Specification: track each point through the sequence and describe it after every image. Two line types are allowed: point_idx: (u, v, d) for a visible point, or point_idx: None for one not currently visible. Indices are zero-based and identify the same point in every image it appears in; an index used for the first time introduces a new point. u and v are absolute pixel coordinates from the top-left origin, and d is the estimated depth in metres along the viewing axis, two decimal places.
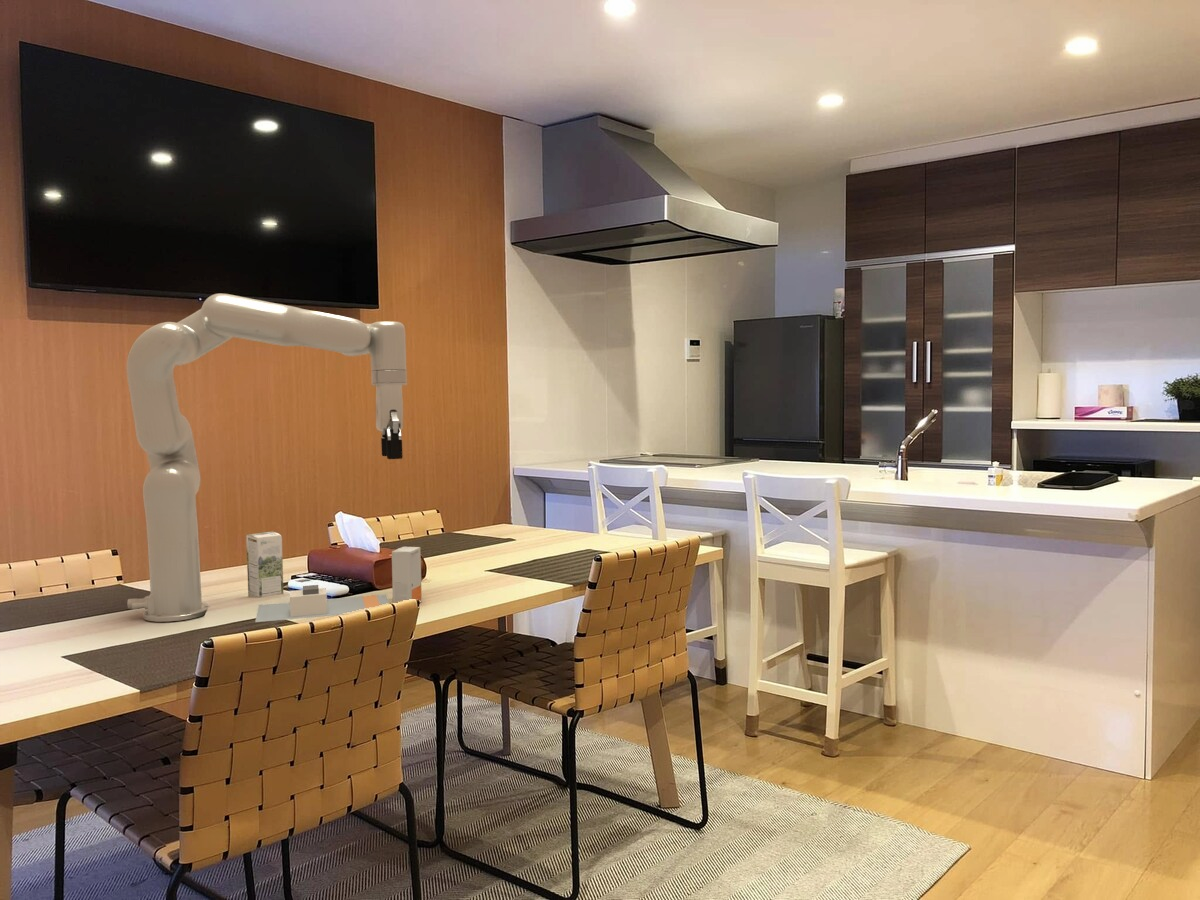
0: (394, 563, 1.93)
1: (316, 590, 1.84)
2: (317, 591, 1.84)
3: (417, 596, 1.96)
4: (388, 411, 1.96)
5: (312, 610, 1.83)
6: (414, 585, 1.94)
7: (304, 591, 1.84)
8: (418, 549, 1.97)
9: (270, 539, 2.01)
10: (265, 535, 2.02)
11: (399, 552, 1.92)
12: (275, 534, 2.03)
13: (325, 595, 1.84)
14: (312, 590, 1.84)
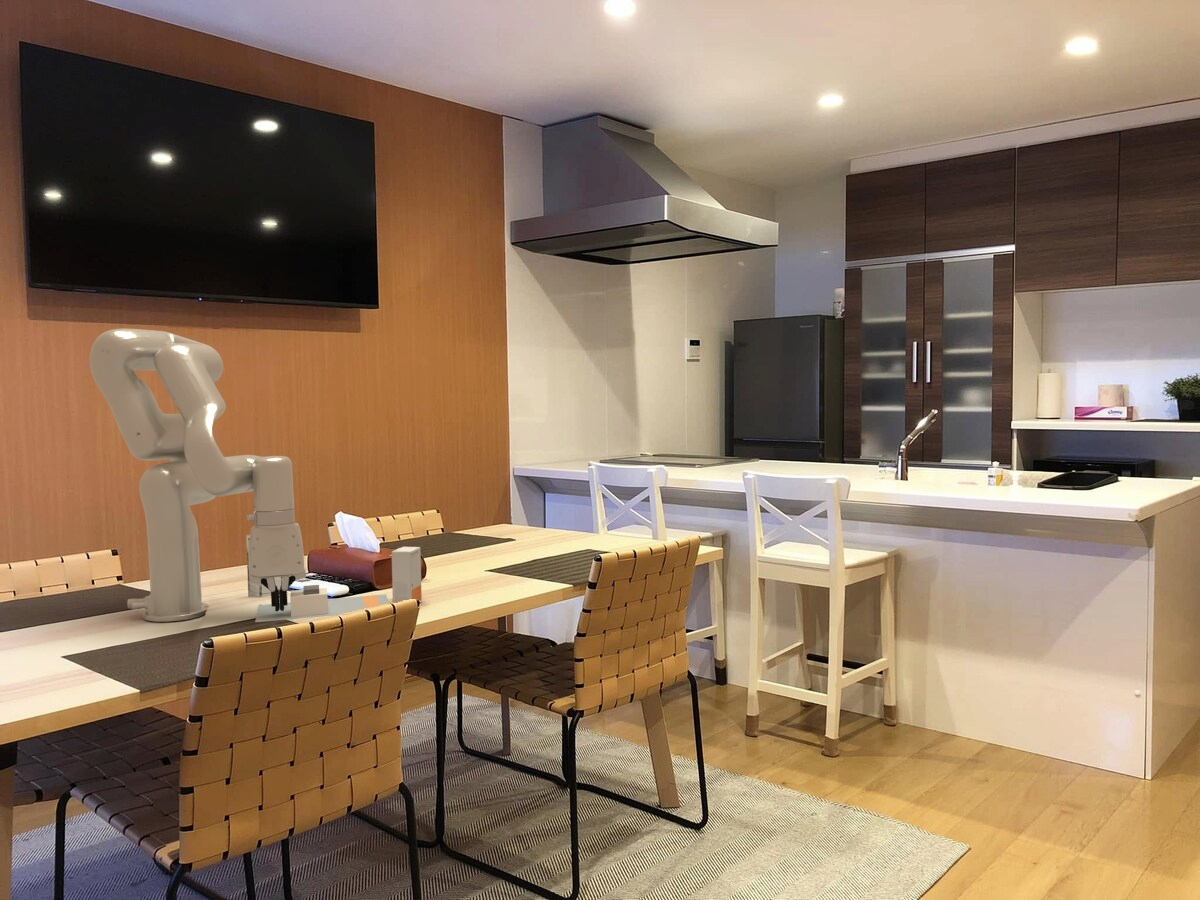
0: (394, 563, 1.93)
1: (317, 590, 1.84)
2: (318, 591, 1.85)
3: (417, 596, 1.96)
4: (303, 551, 1.84)
5: (313, 610, 1.83)
6: (414, 585, 1.94)
7: (305, 591, 1.84)
8: (418, 549, 1.97)
9: None
10: None
11: (399, 552, 1.92)
12: None
13: (326, 595, 1.84)
14: (313, 590, 1.84)
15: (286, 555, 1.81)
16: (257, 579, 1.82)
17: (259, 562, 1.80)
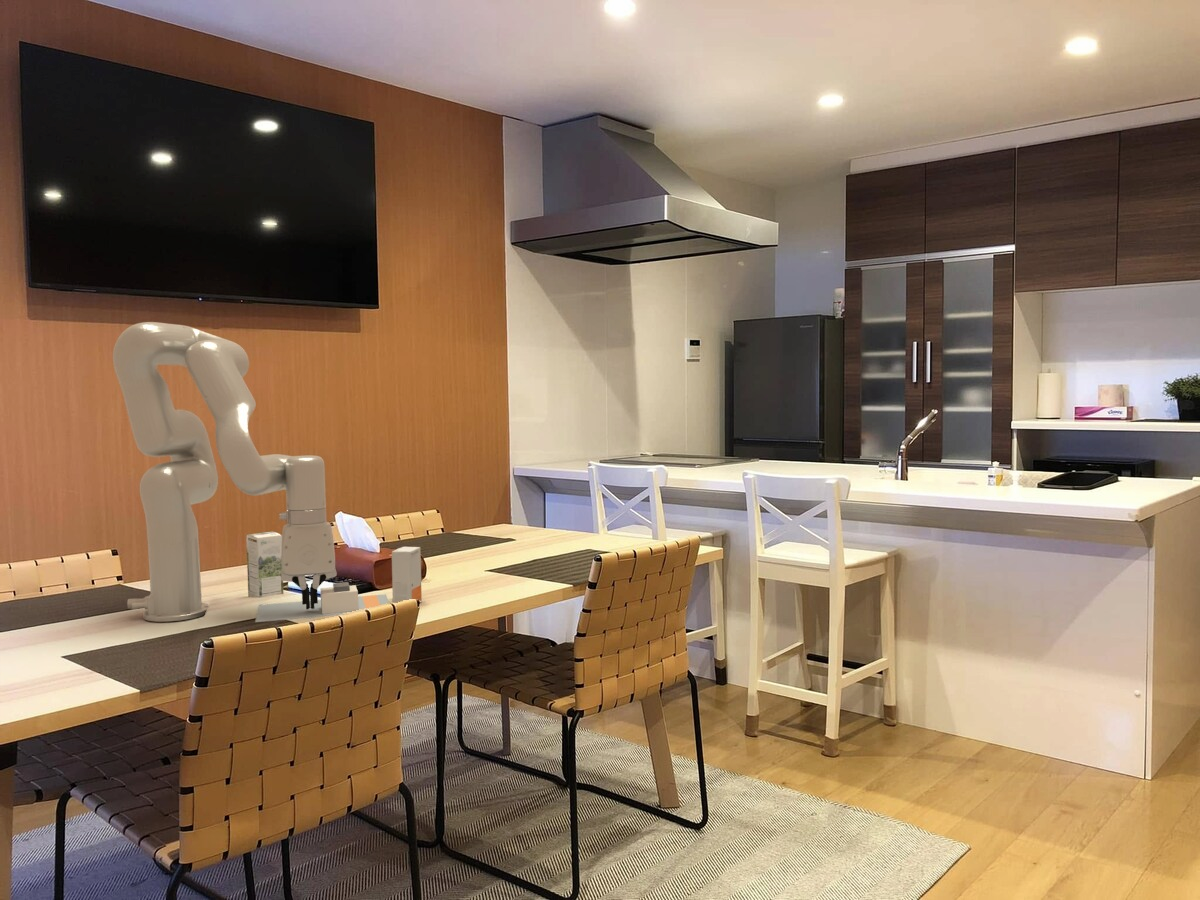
0: (394, 563, 1.93)
1: (347, 587, 1.87)
2: (348, 588, 1.87)
3: (417, 596, 1.96)
4: None
5: (344, 607, 1.86)
6: (414, 585, 1.94)
7: (335, 588, 1.86)
8: (418, 549, 1.97)
9: (270, 538, 2.02)
10: (265, 535, 2.02)
11: (399, 552, 1.92)
12: (275, 534, 2.03)
13: (356, 592, 1.86)
14: (343, 587, 1.86)
15: (318, 554, 1.83)
16: (288, 578, 1.84)
17: (291, 560, 1.82)
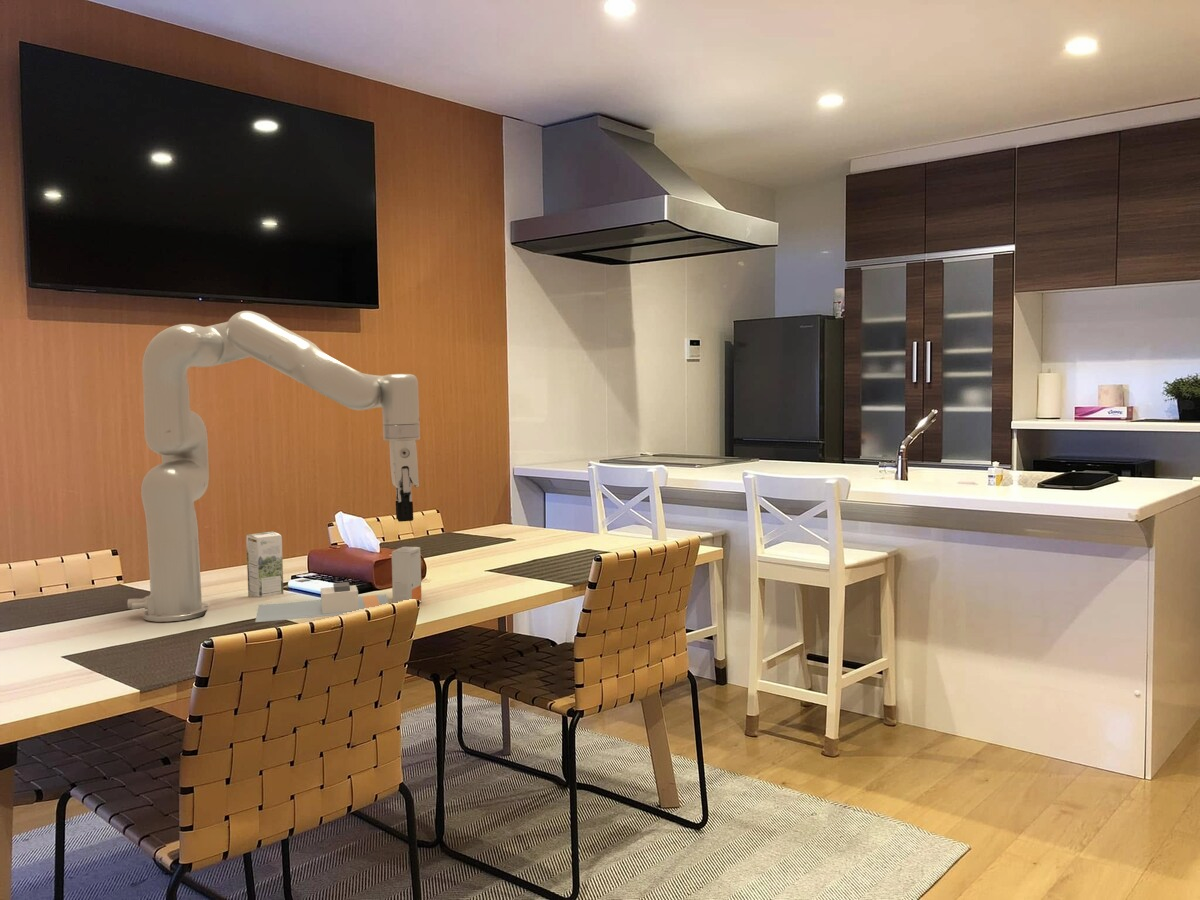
0: (394, 563, 1.93)
1: (347, 587, 1.87)
2: (348, 588, 1.87)
3: (417, 596, 1.96)
4: None
5: (344, 607, 1.86)
6: (414, 585, 1.94)
7: (336, 588, 1.86)
8: (418, 549, 1.97)
9: (270, 538, 2.01)
10: (265, 535, 2.02)
11: (399, 552, 1.92)
12: (275, 534, 2.03)
13: (356, 592, 1.86)
14: (343, 587, 1.86)
15: None
16: None
17: None
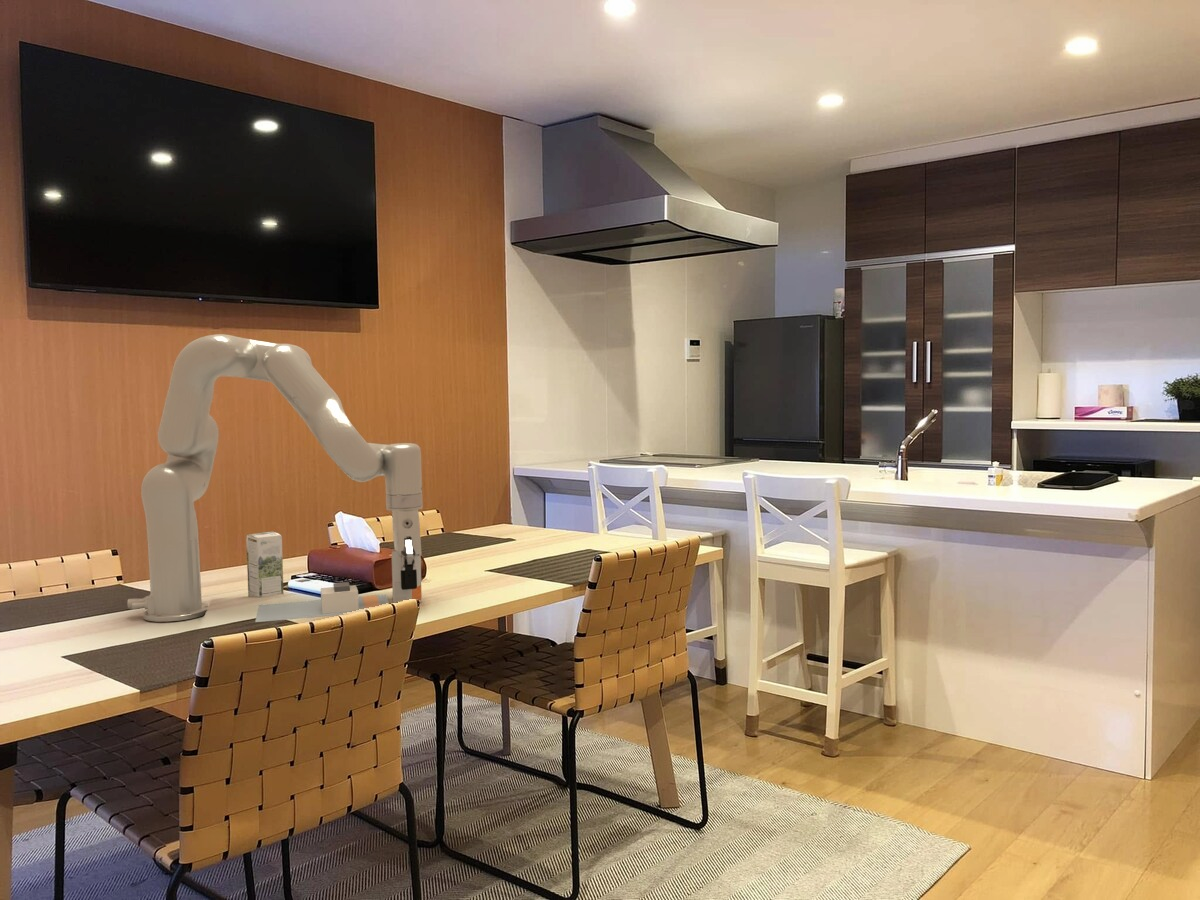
0: (394, 563, 1.93)
1: (347, 587, 1.87)
2: (348, 588, 1.87)
3: (417, 596, 1.96)
4: None
5: (344, 607, 1.86)
6: None
7: (336, 588, 1.86)
8: None
9: (270, 539, 2.01)
10: (265, 535, 2.02)
11: None
12: (275, 534, 2.03)
13: (356, 592, 1.86)
14: (343, 587, 1.86)
15: None
16: (412, 557, 1.89)
17: None
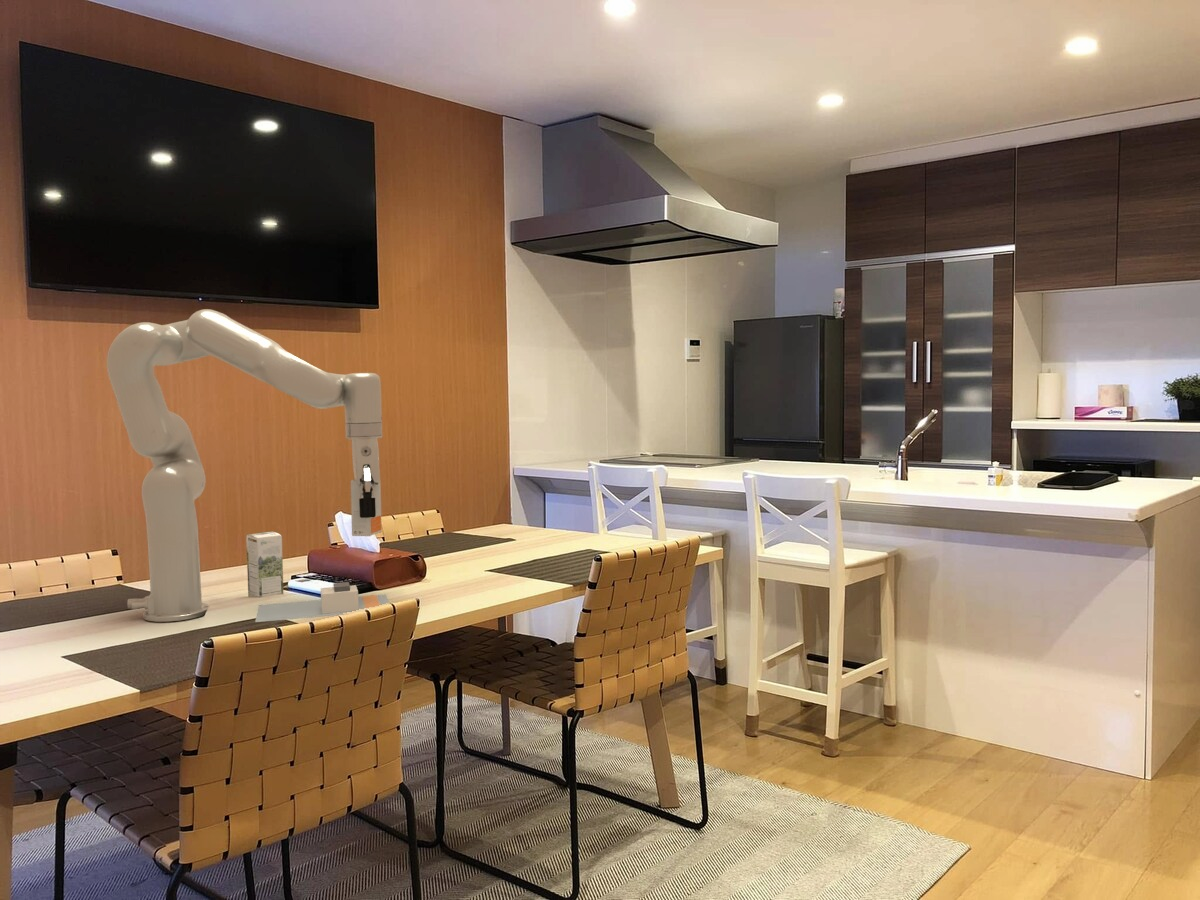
0: (353, 492, 1.93)
1: (347, 587, 1.87)
2: (348, 588, 1.87)
3: (376, 526, 1.96)
4: None
5: (344, 607, 1.86)
6: None
7: (336, 588, 1.86)
8: None
9: (270, 539, 2.01)
10: (265, 535, 2.02)
11: None
12: (275, 534, 2.03)
13: (356, 592, 1.86)
14: (343, 587, 1.86)
15: None
16: None
17: (379, 470, 1.93)
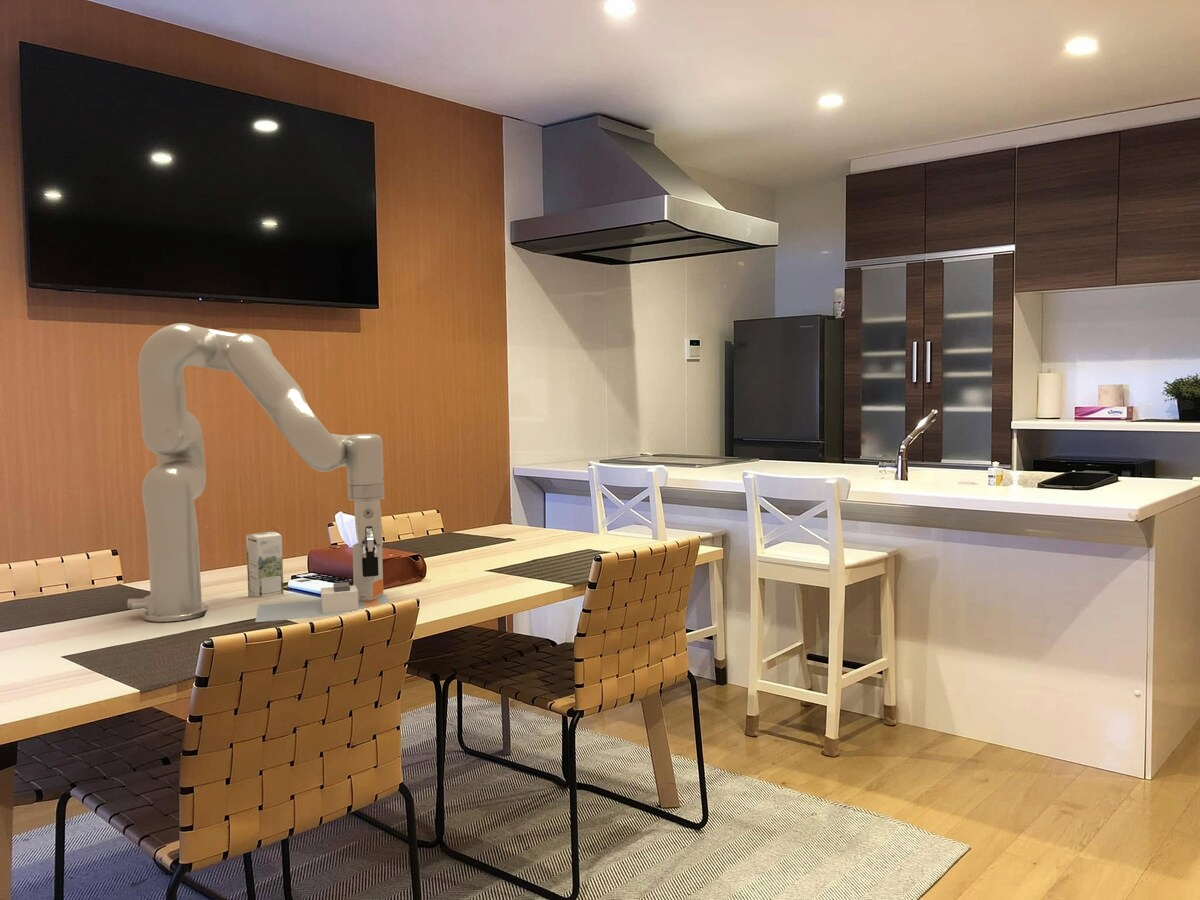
0: (355, 556, 1.94)
1: (347, 587, 1.87)
2: (348, 588, 1.87)
3: (378, 590, 1.97)
4: None
5: (344, 607, 1.86)
6: (375, 579, 1.96)
7: (336, 588, 1.86)
8: None
9: (270, 539, 2.01)
10: (265, 535, 2.02)
11: None
12: (275, 534, 2.03)
13: (356, 592, 1.86)
14: (343, 587, 1.86)
15: None
16: (373, 543, 1.90)
17: None
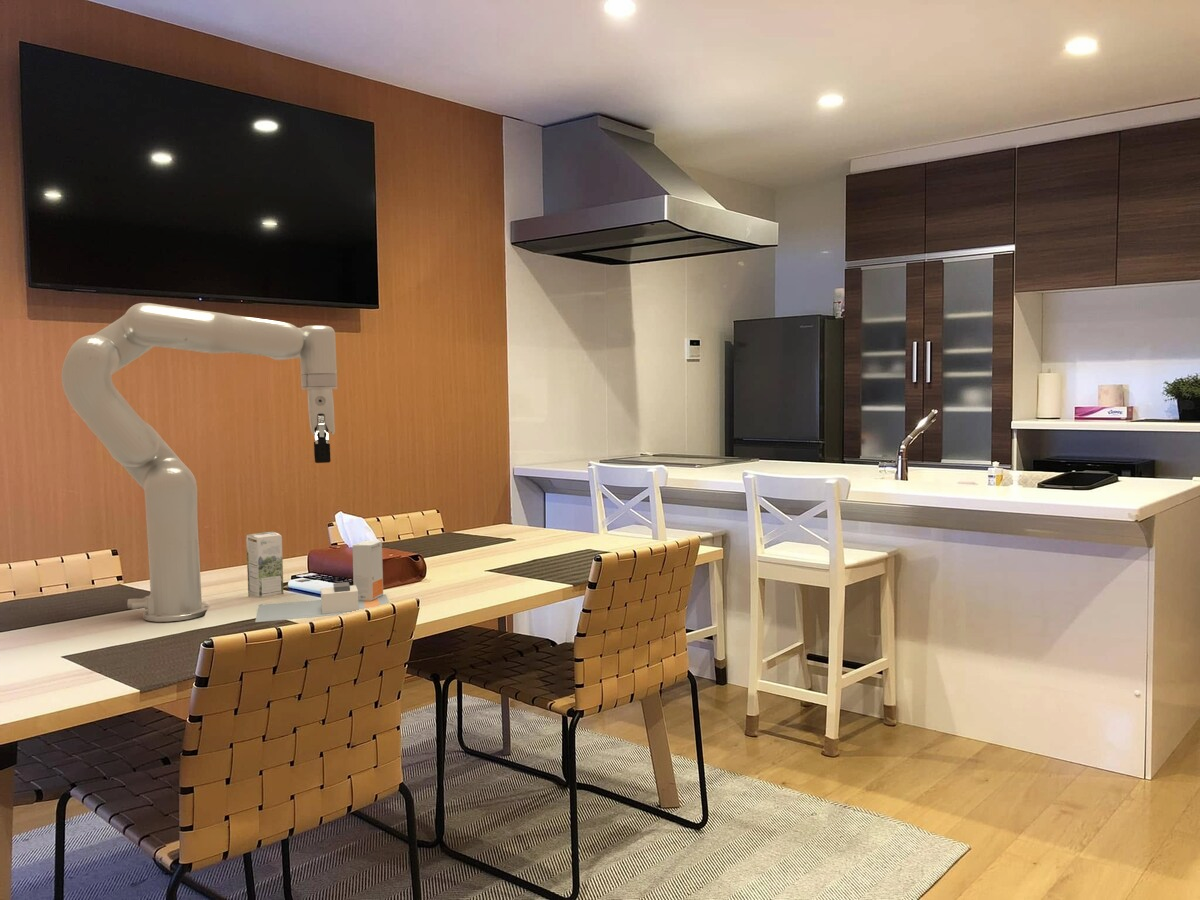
0: (355, 556, 1.94)
1: (347, 587, 1.87)
2: (348, 588, 1.87)
3: (378, 590, 1.97)
4: None
5: (344, 607, 1.86)
6: (375, 579, 1.96)
7: (336, 588, 1.86)
8: (379, 543, 1.98)
9: (270, 538, 2.01)
10: (265, 535, 2.02)
11: (360, 546, 1.94)
12: (275, 534, 2.03)
13: (356, 592, 1.86)
14: (343, 587, 1.86)
15: None
16: (324, 429, 1.95)
17: None
